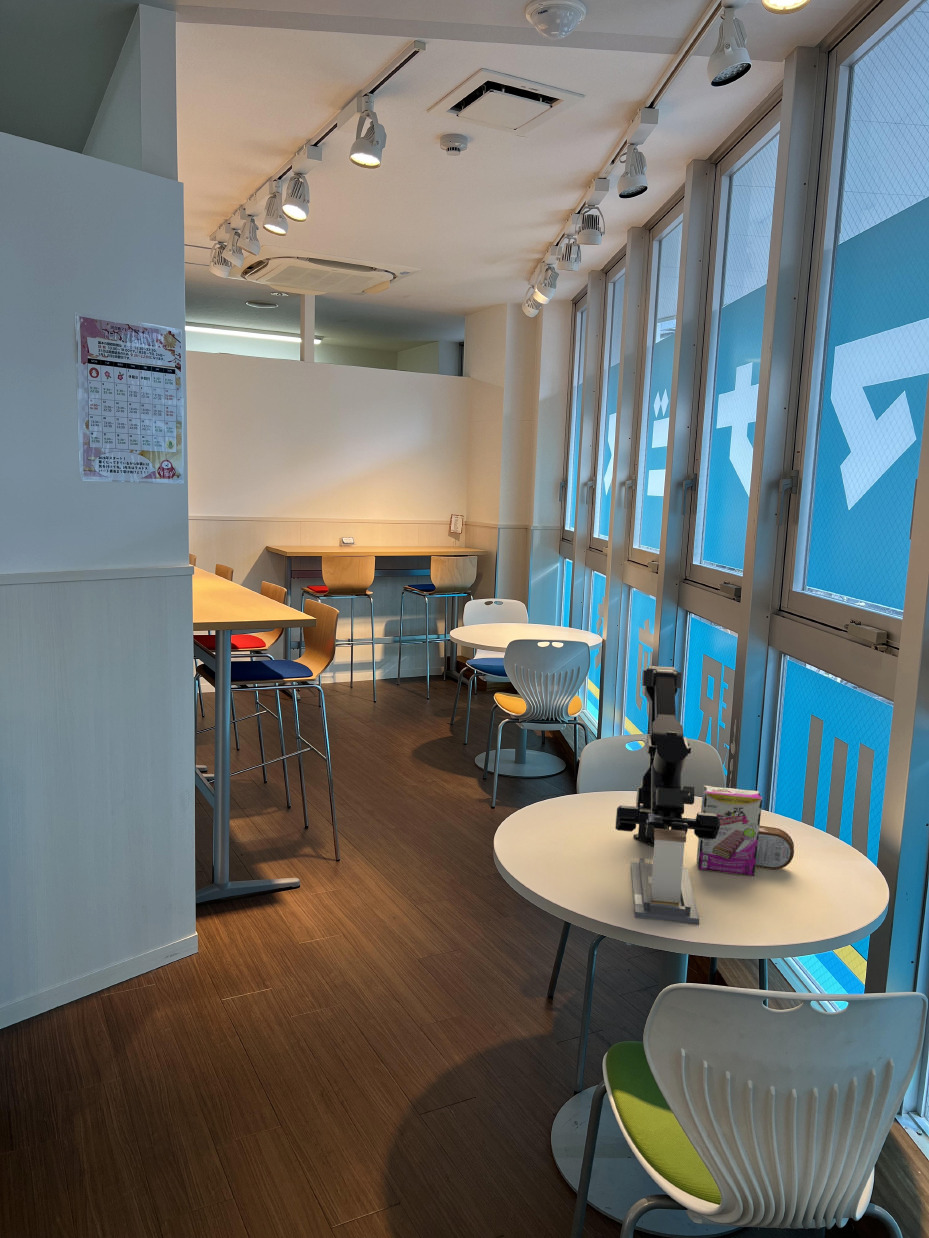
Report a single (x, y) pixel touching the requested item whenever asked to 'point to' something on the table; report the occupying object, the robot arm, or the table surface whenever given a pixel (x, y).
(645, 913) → the switch housing
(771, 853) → the tin
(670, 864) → the switch tab
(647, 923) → the table surface
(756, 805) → the candy bar box
